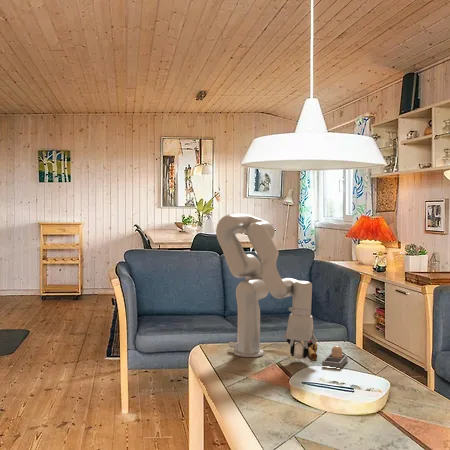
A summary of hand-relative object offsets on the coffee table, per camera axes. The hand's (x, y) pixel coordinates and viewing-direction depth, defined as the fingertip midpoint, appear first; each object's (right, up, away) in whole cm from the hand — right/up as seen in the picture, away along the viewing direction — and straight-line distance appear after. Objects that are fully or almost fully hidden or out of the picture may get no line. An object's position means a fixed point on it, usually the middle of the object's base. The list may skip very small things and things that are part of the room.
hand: (299, 356), depth 245 cm
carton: (+14, -3, -3) cm, 15 cm away
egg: (0, 0, 0) cm, 0 cm away
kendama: (+6, -2, +13) cm, 14 cm away
